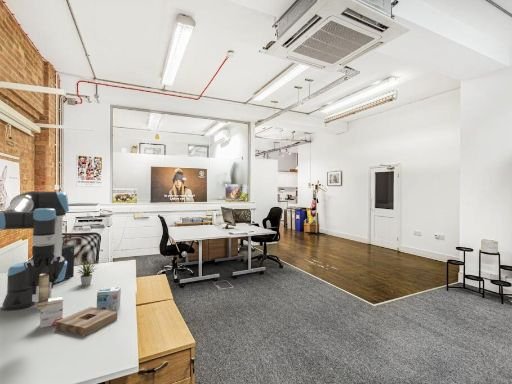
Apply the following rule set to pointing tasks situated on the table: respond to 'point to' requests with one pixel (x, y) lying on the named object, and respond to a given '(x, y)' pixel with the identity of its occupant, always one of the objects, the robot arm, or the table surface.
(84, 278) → the house plant
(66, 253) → the headset box
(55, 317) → the ink box
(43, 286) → the peg
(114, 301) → the light bulb box
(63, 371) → the table surface
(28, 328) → the table surface
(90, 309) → the board
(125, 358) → the table surface
